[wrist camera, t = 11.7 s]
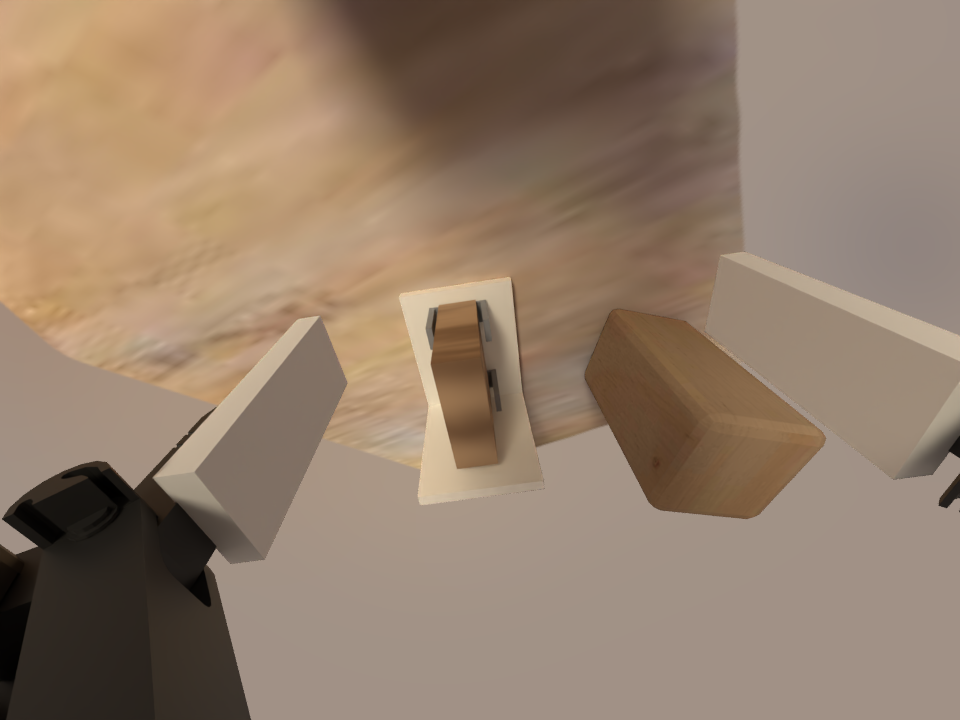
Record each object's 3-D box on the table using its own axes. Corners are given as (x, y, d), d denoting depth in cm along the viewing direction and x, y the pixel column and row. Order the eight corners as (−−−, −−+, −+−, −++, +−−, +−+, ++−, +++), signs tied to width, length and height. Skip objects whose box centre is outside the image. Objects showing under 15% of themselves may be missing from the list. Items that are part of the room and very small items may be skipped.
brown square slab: (438, 305, 39) (430, 364, 28) (475, 299, 39) (480, 357, 28) (457, 394, 45) (456, 469, 35) (489, 389, 45) (498, 463, 35)
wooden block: (579, 376, 46) (649, 514, 29) (609, 304, 41) (714, 420, 24) (651, 387, 48) (757, 525, 31) (688, 319, 43) (840, 438, 26)
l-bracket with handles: (400, 293, 39) (371, 367, 27) (509, 276, 39) (533, 343, 26) (431, 407, 48) (420, 505, 35) (521, 394, 47) (544, 489, 34)
